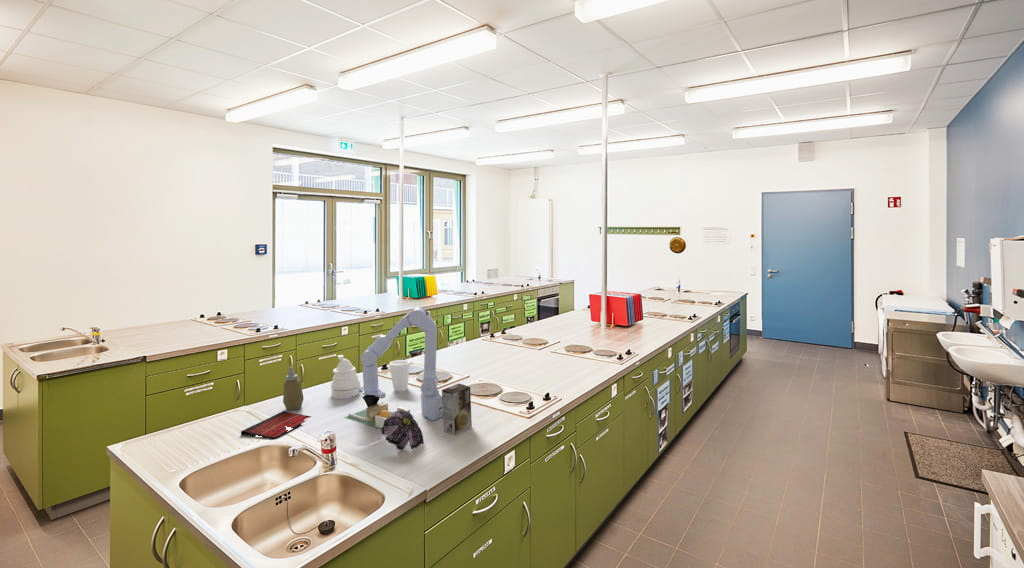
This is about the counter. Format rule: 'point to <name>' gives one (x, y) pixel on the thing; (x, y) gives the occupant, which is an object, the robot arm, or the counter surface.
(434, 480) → the counter surface
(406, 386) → the foam cup
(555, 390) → the counter surface
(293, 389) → the squeeze bottle
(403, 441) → the decorative flower
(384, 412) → the ball
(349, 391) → the honey pot
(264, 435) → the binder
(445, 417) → the coffee box
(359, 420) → the pitch mat
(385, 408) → the block
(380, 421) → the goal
